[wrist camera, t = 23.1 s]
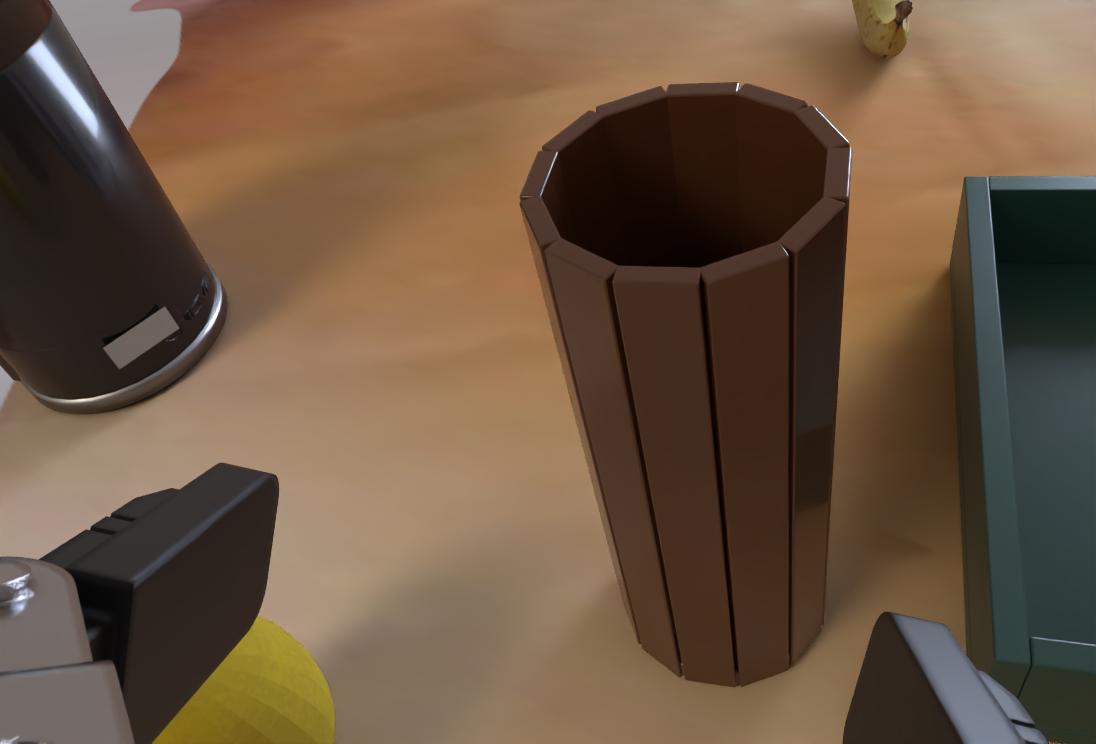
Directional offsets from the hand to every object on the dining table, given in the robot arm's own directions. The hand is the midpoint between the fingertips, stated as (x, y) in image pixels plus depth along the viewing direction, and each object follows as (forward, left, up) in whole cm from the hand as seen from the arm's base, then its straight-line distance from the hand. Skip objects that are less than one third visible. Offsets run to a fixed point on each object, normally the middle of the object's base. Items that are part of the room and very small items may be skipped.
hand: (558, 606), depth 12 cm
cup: (0, +9, -16) cm, 18 cm away
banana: (+4, +42, -16) cm, 45 cm away
